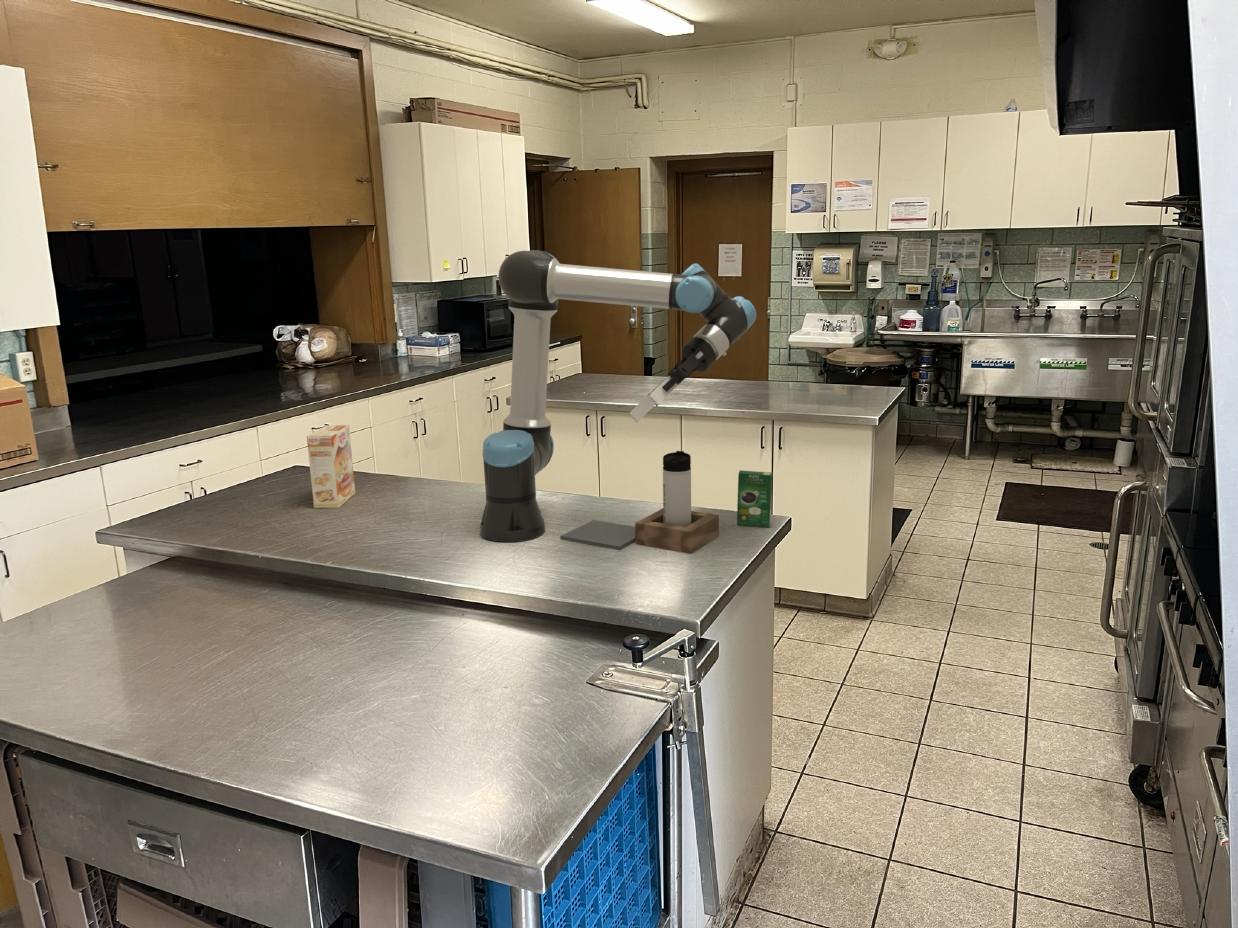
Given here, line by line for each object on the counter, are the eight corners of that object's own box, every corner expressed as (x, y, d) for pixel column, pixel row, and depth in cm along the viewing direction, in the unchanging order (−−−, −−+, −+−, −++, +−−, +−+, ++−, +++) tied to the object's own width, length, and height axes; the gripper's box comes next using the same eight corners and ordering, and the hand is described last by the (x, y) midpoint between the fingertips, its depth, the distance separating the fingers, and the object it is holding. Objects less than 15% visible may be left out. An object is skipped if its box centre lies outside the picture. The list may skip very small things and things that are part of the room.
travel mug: (694, 536, 202) (694, 451, 197) (687, 545, 196) (686, 458, 191) (668, 534, 204) (667, 450, 199) (660, 543, 198) (659, 456, 193)
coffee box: (772, 524, 209) (773, 471, 206) (770, 528, 206) (771, 474, 203) (738, 522, 211) (738, 469, 208) (736, 526, 209) (736, 472, 206)
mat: (560, 539, 202) (560, 535, 202) (593, 523, 214) (593, 519, 213) (619, 549, 194) (619, 546, 194) (651, 532, 205) (651, 529, 205)
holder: (635, 544, 197) (634, 522, 196) (665, 527, 209) (665, 507, 208) (691, 553, 190) (691, 531, 189) (719, 535, 202) (719, 514, 201)
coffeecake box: (339, 508, 232) (332, 435, 227) (312, 508, 232) (304, 436, 227) (356, 493, 246) (350, 424, 242) (331, 493, 247) (324, 425, 242)
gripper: (739, 341, 186) (675, 405, 178) (695, 378, 209) (636, 436, 201) (714, 316, 186) (649, 378, 178) (673, 355, 209) (614, 412, 201)
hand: (642, 409), depth 190 cm, fingers open, 13 cm apart
